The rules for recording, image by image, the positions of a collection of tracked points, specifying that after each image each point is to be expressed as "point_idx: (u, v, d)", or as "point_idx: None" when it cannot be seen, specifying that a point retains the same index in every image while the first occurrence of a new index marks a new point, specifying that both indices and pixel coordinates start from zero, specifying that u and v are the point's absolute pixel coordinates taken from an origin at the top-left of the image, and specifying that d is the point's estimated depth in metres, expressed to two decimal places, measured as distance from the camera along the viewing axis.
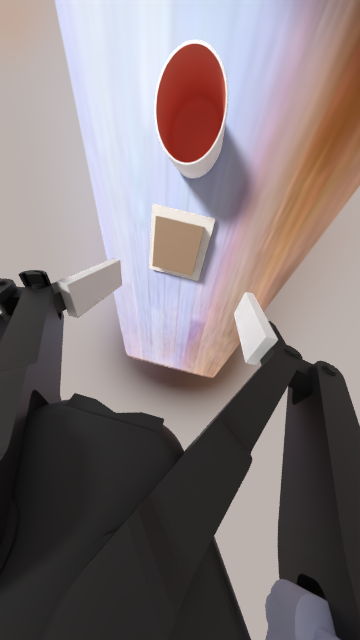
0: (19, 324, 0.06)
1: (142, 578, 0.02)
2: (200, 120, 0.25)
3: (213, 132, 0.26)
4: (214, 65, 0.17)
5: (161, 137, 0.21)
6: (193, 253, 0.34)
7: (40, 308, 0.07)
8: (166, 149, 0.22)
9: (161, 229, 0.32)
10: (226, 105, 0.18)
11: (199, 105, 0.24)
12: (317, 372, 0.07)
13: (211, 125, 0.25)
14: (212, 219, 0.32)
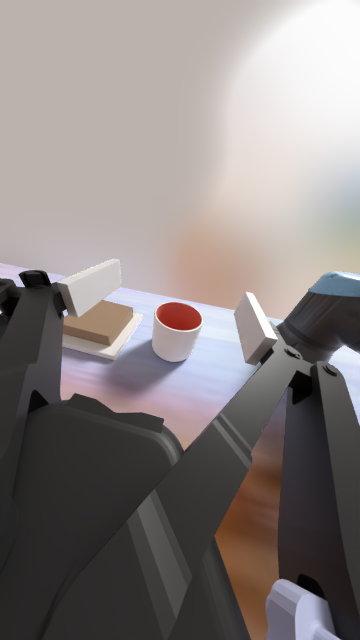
0: (19, 324, 0.06)
1: (142, 578, 0.02)
2: None
3: None
4: None
5: (171, 305, 0.32)
6: (84, 326, 0.29)
7: (40, 308, 0.07)
8: (166, 308, 0.32)
9: (121, 308, 0.35)
10: (180, 331, 0.25)
11: None
12: (317, 372, 0.07)
13: None
14: (114, 353, 0.28)
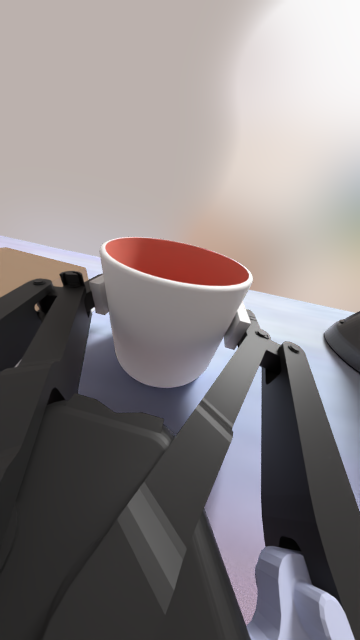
0: (52, 320, 0.07)
1: (138, 566, 0.02)
2: None
3: None
4: None
5: (161, 251, 0.14)
6: None
7: (72, 306, 0.08)
8: (149, 256, 0.13)
9: (58, 266, 0.17)
10: (187, 286, 0.06)
11: None
12: (284, 352, 0.08)
13: None
14: None
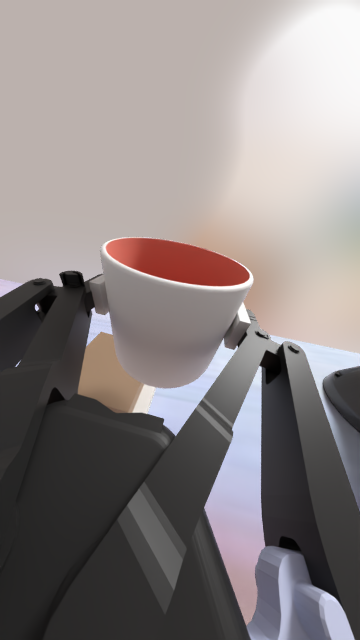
0: (52, 320, 0.07)
1: (138, 567, 0.02)
2: None
3: None
4: None
5: (162, 251, 0.14)
6: (90, 392, 0.18)
7: (72, 306, 0.08)
8: (149, 256, 0.13)
9: None
10: (188, 286, 0.06)
11: None
12: (284, 352, 0.08)
13: None
14: None
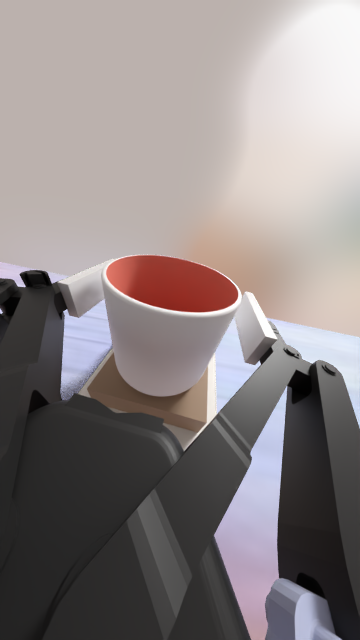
0: (20, 324, 0.06)
1: (142, 578, 0.02)
2: None
3: None
4: None
5: (159, 265, 0.14)
6: (148, 395, 0.13)
7: (41, 308, 0.07)
8: (147, 271, 0.14)
9: None
10: (178, 314, 0.07)
11: None
12: (316, 371, 0.07)
13: None
14: None
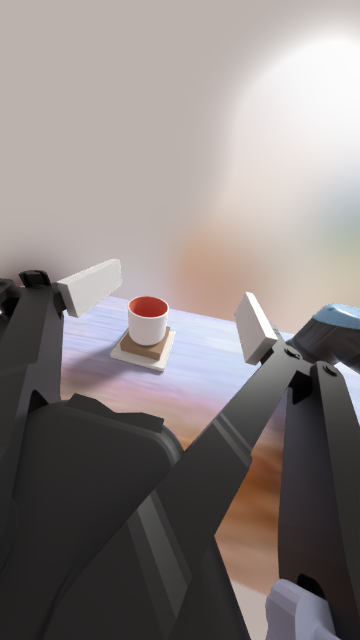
0: (19, 324, 0.06)
1: (142, 579, 0.02)
2: None
3: None
4: None
5: (145, 299, 0.39)
6: (140, 345, 0.37)
7: (40, 308, 0.07)
8: (140, 301, 0.38)
9: None
10: (146, 318, 0.31)
11: None
12: (317, 372, 0.07)
13: None
14: (164, 366, 0.37)
